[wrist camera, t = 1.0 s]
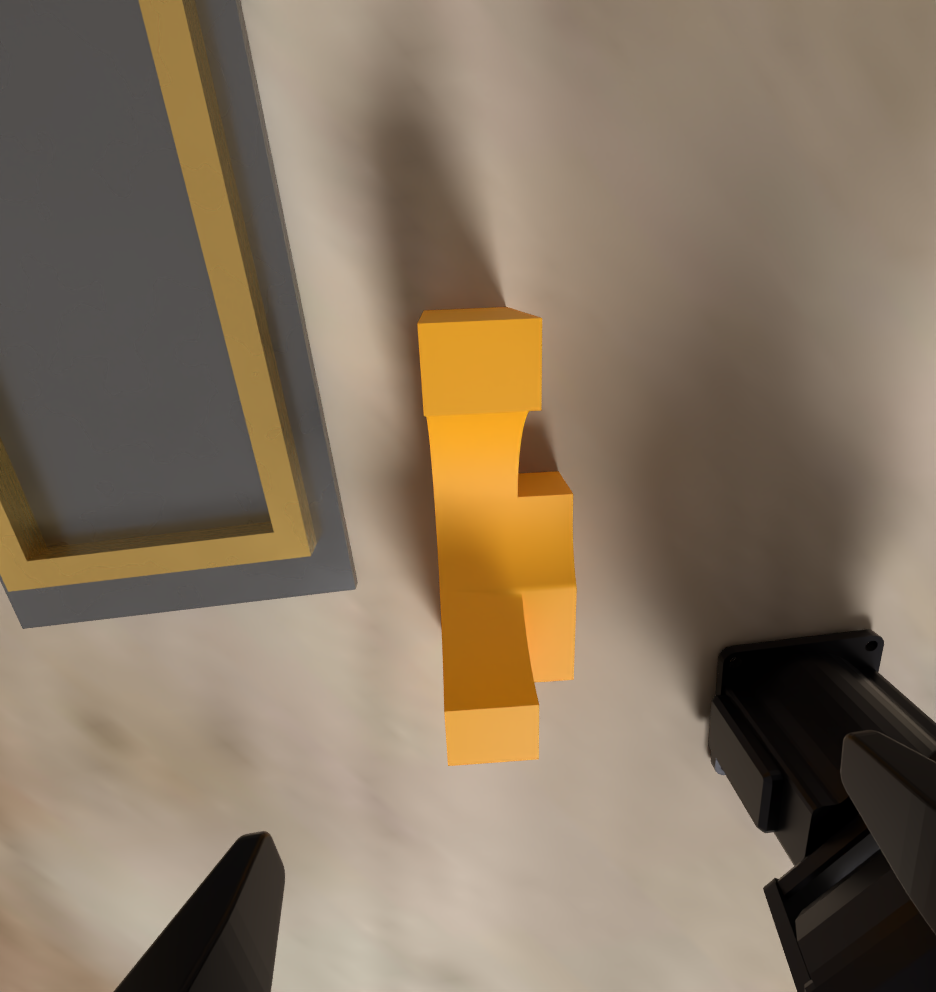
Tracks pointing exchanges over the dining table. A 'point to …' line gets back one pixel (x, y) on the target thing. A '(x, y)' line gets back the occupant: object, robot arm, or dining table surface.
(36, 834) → the dining table surface
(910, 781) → the robot arm
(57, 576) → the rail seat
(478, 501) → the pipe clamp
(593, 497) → the dining table surface
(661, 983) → the dining table surface
